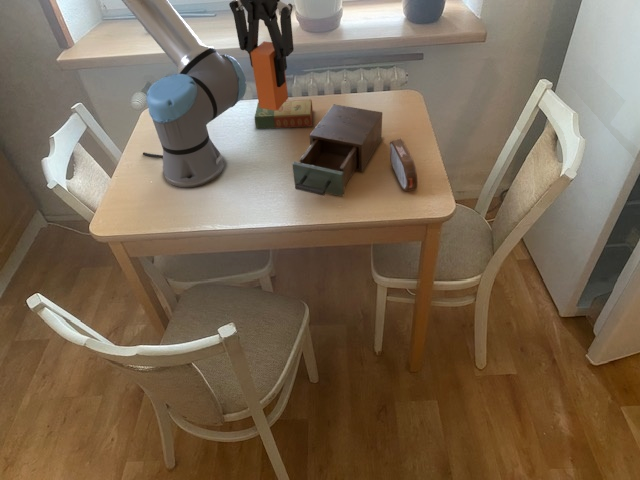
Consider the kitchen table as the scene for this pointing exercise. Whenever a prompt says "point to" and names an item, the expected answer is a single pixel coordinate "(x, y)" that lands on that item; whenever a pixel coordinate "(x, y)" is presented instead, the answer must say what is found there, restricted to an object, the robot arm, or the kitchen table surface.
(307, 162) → the drawer
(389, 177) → the kitchen table surface
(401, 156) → the tin
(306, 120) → the carton
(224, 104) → the robot arm
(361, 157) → the cabinet
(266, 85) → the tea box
